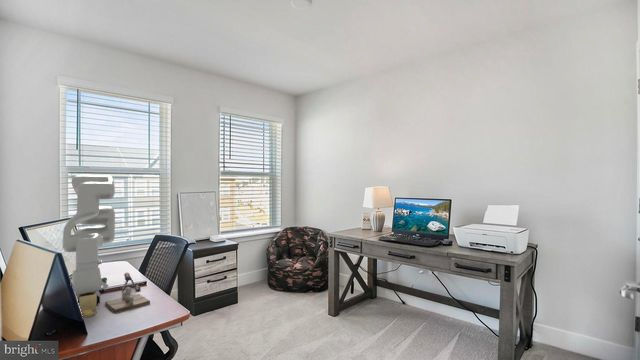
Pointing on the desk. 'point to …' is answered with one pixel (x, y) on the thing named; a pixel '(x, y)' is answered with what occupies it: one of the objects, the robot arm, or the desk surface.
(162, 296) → the desk surface
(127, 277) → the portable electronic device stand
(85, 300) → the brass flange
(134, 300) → the post dock
